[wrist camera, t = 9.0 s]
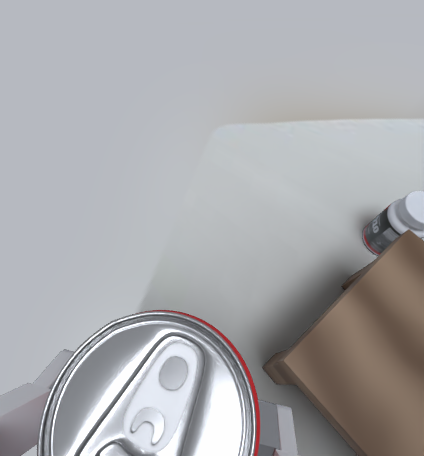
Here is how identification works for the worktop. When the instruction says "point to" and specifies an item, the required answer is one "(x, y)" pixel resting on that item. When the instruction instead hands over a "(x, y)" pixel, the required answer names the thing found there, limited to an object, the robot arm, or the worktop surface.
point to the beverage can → (152, 393)
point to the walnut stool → (368, 355)
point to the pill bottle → (396, 222)
